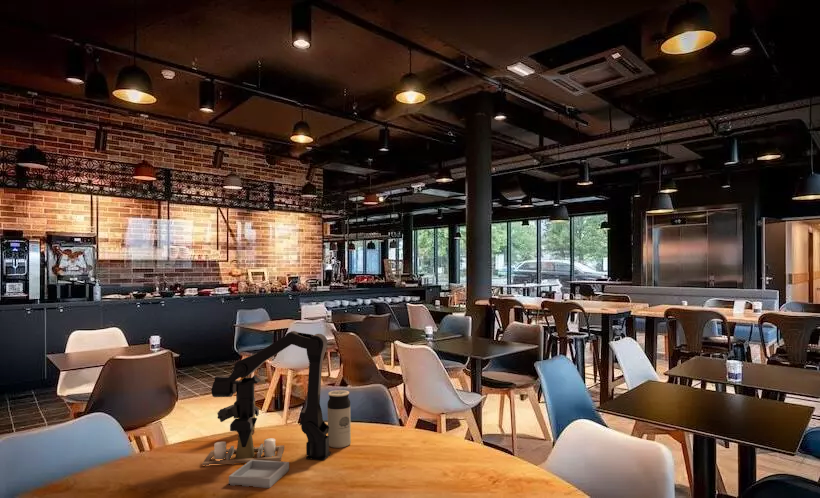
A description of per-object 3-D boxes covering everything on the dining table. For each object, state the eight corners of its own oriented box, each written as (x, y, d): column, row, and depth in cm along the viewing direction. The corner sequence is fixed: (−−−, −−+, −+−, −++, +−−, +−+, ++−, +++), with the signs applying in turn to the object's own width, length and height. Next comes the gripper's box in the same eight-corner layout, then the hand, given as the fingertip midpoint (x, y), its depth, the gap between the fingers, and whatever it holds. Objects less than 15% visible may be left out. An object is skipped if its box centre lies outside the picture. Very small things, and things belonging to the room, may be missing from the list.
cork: (248, 461, 158) (248, 426, 159) (231, 459, 159) (231, 425, 160) (258, 454, 164) (258, 420, 164) (241, 453, 165) (241, 420, 166)
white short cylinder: (227, 456, 162) (227, 441, 163) (224, 460, 159) (224, 444, 159) (215, 457, 162) (215, 441, 162) (213, 461, 158) (213, 445, 158)
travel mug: (325, 442, 174) (324, 391, 175) (346, 439, 177) (346, 388, 178) (331, 449, 167) (330, 396, 168) (353, 446, 170) (353, 393, 171)
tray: (289, 470, 150) (289, 461, 150) (269, 487, 137) (269, 478, 138) (251, 467, 152) (251, 459, 152) (228, 485, 140) (228, 476, 140)
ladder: (284, 448, 169) (284, 440, 169) (280, 460, 158) (280, 452, 158) (211, 453, 165) (211, 445, 166) (202, 466, 154) (202, 458, 154)
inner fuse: (275, 453, 165) (275, 437, 165) (274, 456, 161) (274, 441, 161) (264, 453, 164) (264, 438, 164) (263, 457, 161) (263, 442, 161)
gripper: (225, 391, 170) (225, 437, 170) (213, 405, 152) (212, 456, 151) (259, 389, 172) (259, 434, 171) (250, 403, 154) (250, 454, 153)
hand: (245, 444), depth 162 cm, fingers closed on cork, 4 cm apart
